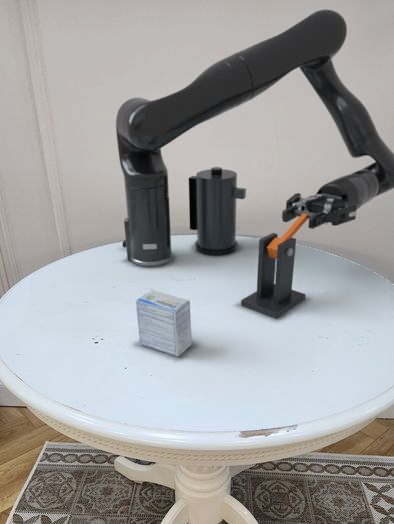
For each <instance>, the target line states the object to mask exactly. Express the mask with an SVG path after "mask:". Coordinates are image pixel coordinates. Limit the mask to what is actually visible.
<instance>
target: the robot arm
mask: <svg viewBox="0 0 394 524" xmlns="http://www.w3.org/2000/svg"><path fill="white" fill-rule="evenodd" d="M347 34H348V25H347V21H346V19H345V18H344V16H342V15H341V14H340V13H339V12H337V11H335V10H333V9H320V10H316V11H314V12H312V13H311V14H310V15H308V16H306V17H305V18H304V19H302V20H300V21H299V22H297V23H295V24H294V25H292V26H291V27H290V28H287V29H286V30H284V31H283V32H281V33H278V34H277V35H275V36H272V37H269V38H267V39H265V40H264V39H263V40H262V41H260V42H257V43H256V44H253V45H251V46H249V47H247V48H244V49H242V50H240V51H237V52H235V53H233V54H231V55H229V56H226V57H224V58H223V59H220V60H218V61H216V62H214V63H212V64H210V66H208V67H207V68H206V69H205V70H204V71H202V72H201V73H200V74H199V75H198V76H197V77H195V79H194V80H192V82H190V83H189V84H188V85H187V86H185V87H183V88H181V89H180V90H178V91H175V92H173V93H170V94H168V95H165V96H163V97H160V98H157V99H153V100H149V99H146V98H142V97H132V98H129V99H127V100H125V101H124V102H123V103H122V104H121V105H120V106H119V109H118V111H117V113H116V118H115V132H116V141H117V151H118V159H119V166H120V169H121V171H122V175H123V182H124V192H125V202H126V204H125V205H126V215H127V217H125V219H124V220H123V225H124V226H123V227H124V236H125V240H123V241H122V248H124V249H125V248H126V256H127V257H126V258H127V261H129V262H131V263H132V264H134V265H136V266H140V267H147V268H148V267H149V268H151V267H159V266H163V265H166V264H168V263H170V262H171V261H172V260H173V252H172V251H173V250H172V233H171V232H172V231H171V212H170V211H171V209H170V187H169V170H168V168H167V165H166V163H165V162H164V158H163V155H162V148H164V147H165V146H167V145H168V144H170V143H172V142H173V141H175V140H176V139H177V138H179V137H181V136H183V135H184V134H185V133H187V132H188V131H190V130H191V129H193V128H195V127H196V126H198V125H200V124H203V123H205V122H207V121H210V120H212V119H215V118H216V117H218V116H220V115H223V114H225V113H227V112H229V111H231V110H233V109H236V108H238V107H240V106H242V105H244V104H246V103H248V102H250V101H251V100H254V99H255V98H257V97H258V96H260V95H262V94H263V93H265V92H266V91H268V89H270V88H271V87H273V86H274V85H276V84H277V83H278V82H279V81H281V80H283V78H285V77H286V76H287V75H289V74H290V73H291V72H293V71H295V70H297V69H299V70H300V71H301V73H302V74H303V75H304V77H305V78H306V80H307V81H308V83H309V84H310V86H311V87H312V88H313V90H314V91H315V93H316V95H317V96H318V98H319V99H320V101H321V102H322V104H323V106H324V107H325V108H326V110H327V112H328V114H329V115H330V117H331V119H332V121H333V122H334V124H335V127H336V128H337V131H338V133H339V136H340V137H341V139H342V141H343V143H344V146H345V148H346V150H347V152H348V154H349V156H350V157H351V158H352V159H360V158H362V157H369V158H371V159H372V160H373V161H374V162H373V163H370V164H368V165H366V166H365V167H362V168H361V169H358V170H355V171H353V172H351V173H349V174H346V175H342V176H340V177H337V178H335V179H333V180H331V181H329V182H327V183H325V184H323V185H322V186H321V187H320V188H319V189H318V190H317V192H316V193H315V194H313V195H309V196H308V197H302V193H299V192H298V193H294V194H293V195H292V196H291V197H289V198H288V199H287V200H286V201H285V209H284V210H282V214H281V219H282V222H284V223H288V222H290V221H292V220H294V219H296V218H299V216H295V215H294V214H293V213H294V210H295V209H298V210H299V209H300V210H302V211H307V212H311V213H316V214H314V215H312V216H311V217H310V218H309V219H308V229H311V230H313V229H316V228H318V227H320V226H322V225H324V226H326V225H329V223H330V224H331V226H334V227H335V226H336V227H337V226H339V225H343V224H346V223H349V222H351V221H354V220H356V218H357V210H359V209H360V208H361V207H362V206H365V205H366V204H367V203H369V202H370V201H372V200H373V199H374V198H376V197H379V196H381V195H383V194H384V193H387V192H389V191H391V190H394V152H393V151H392V150H391V148H390V147H389V146H388V145H387V143H385V141H384V140H383V139H382V137H381V136H380V134H379V132H378V130H377V127H376V126H375V125H376V124H375V123H374V121H373V119H372V116H371V115H370V112H369V111H368V109H367V108H366V106H365V104H364V103H363V102H362V101H361V100H360V99H359V97H357V96H356V95H355V94H354V93H353V92H351V90H349V88H348V87H347V86H346V85H345V84H344V83H343V81H342V80H341V78H340V77H339V75H338V72H337V71H336V68H335V65H334V63H333V58H334V57H335V56H336V55H337V54H338V53H339V52H340V50H341V49H342V48H343V46H344V44H345V41H346V39H347Z"/></svg>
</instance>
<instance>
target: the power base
mask: <svg viewBox="0 0 394 524" xmlns="http://www.w3.org/2000/svg"><path fill="white" fill-rule="evenodd" d="M274 238H278V233H276V232H272V233H270V234H267V235H266V236H264V237H261V238H259V239H258V257H257V259H258V260H257V261H258V262H257V278H256V279H257V281H256V291H255V292H253V293H251V294H249V295H247V296H246V297H244V298H242V299H241V301H240V306H241V307H244V308H246V309H249V310H252V311H255V312H257V313H260V314H263V315H265V316H268V317H270V318H273V319H278V318H279V317H281V316H283V314H286V313H287V312H288V311H289V310H291V309H293V308H295V307H296V306H298V305H299V304H301V303H302V302H303V301H305V300H306V293H303V292H300V291H297V290H295V289H293V280H294V267H295V257H296V246H297V238H295V237H292V238H290V239H288V240H286V241H284V242H282V243H280V244H278V250H277V259H275V258H272V257H269V254H268V250H267V246H268V245H269V244H270V243H271V242H272V241H273V239H274Z"/></svg>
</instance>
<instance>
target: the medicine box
mask: <svg viewBox="0 0 394 524" xmlns="http://www.w3.org/2000/svg"><path fill="white" fill-rule="evenodd" d="M135 306H136V307H135V308H136V317H137V318H136V319H137V328H138V337H139V338H138V339H139V345H141V346H145V347H146V348H147V347H148V348H151V349H154V350H156V351H159V352H162V353H166V354H168V355H171V356H175V357H180V356H181V355H182V354H183V353H184V352H185V351H187V349H188V348H190V347H191V346H192V343H193V342H192V341H193V340H192V320H191V318H192V317H191V301H190V300H189V299H186V298H182V297H178V296H174V295H171V294H168V293H164V292H160V291H156V290H153V289H151V290H149V291H147V292H146V293H144V294H143V295H142V296H140V297H138V298H137V299H136V300H135Z"/></svg>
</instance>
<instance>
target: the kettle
mask: <svg viewBox="0 0 394 524" xmlns="http://www.w3.org/2000/svg"><path fill="white" fill-rule="evenodd" d="M246 196H247V188H244V187H238V173H237V172H236V171H235V170H231V169H225V168H222V167H219V166H214V167H211V168H209V169H204V170H200V171H198V172H196V174H195V175H191V176H190V177H188V207H189V230H192V231H196V241H195V243H194V246H195V247H194V248H195V251H196V252H198V253H199V254H202V255H205V256H213V257H221V256H227V255H230V254H233V253H235V252H237V250H238V241H237V240H236V238H237V237H236V236H237V235H236V233H237V225H236V224H237V200H244V199H246Z"/></svg>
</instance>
